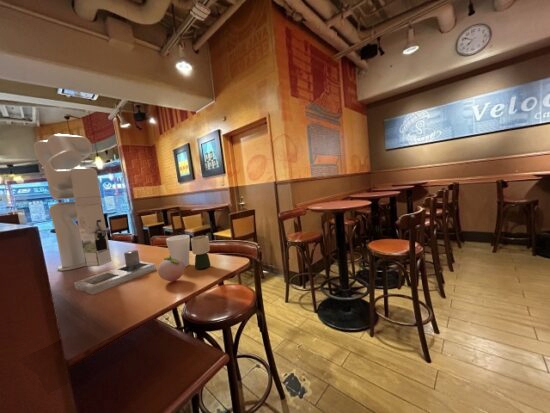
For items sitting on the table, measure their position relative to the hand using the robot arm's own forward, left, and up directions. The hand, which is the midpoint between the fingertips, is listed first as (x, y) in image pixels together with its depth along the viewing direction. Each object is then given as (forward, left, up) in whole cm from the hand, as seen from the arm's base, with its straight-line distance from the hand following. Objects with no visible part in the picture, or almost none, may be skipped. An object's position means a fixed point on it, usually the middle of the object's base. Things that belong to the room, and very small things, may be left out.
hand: (96, 248), depth 85 cm
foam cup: (+15, +24, -14) cm, 32 cm away
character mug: (+26, +26, -14) cm, 39 cm away
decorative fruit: (+26, +11, -14) cm, 31 cm away
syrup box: (0, 0, -6) cm, 6 cm away
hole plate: (0, +6, -14) cm, 15 cm away
